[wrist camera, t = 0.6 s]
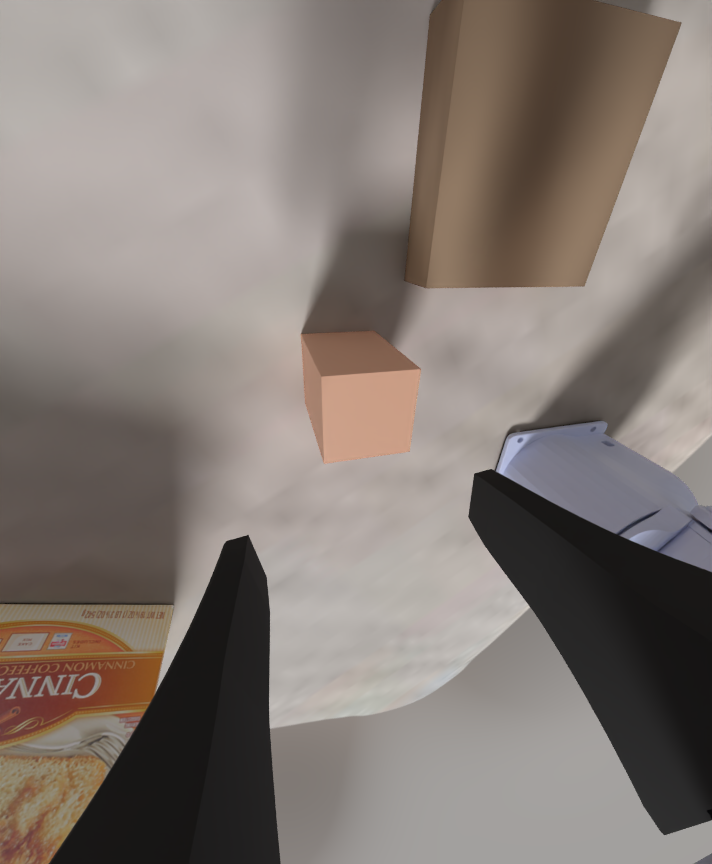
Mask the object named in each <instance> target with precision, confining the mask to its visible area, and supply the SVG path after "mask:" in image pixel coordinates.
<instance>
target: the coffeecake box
mask: <svg viewBox="0 0 712 864" xmlns="http://www.w3.org/2000/svg"><path fill="white" fill-rule="evenodd" d="M173 608H174V605H50V604H0V864H49V862H50V861H51V859H52V858H53V856H54V855H55V853H56V852H57V850H58V849H59V848H60V846H61V845H62V843H63V842H64V840H65V839H66V837H67V836H68V834H69V833H70V831H71V830H72V828H73V827H74V825H75V824H76V822H77V821H78V819H79V818H80V816H81V815H82V813H83V812H84V810H85V809H86V807H87V806H88V804H89V803H90V801H91V800H92V798H93V796H94V795H95V793H96V792H97V790H98V789H99V787H100V785H101V784H102V782H103V781H104V779H105V778H106V776H107V774H108V773H109V771H110V769H111V768H112V766H113V765H114V763H115V761H116V760H117V758H118V756H119V755H120V753H121V751H122V750H123V748H124V746H125V745H126V743H127V742H128V740H129V738H130V737H131V735H132V733H133V732H134V730H135V728H136V727H137V725H138V723H139V721H140V720H141V718H142V716H143V714H144V713H145V711H146V709H147V707H148V706H149V704H150V702H151V700H152V699H153V697H154V695H155V693H156V689H157V685H158V680H159V676H160V671H161V666H162V661H163V657H164V652H165V647H166V642H167V638H168V633H169V628H170V623H171V618H172V613H173Z"/></svg>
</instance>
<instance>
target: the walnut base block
mask: <svg viewBox="0 0 712 864" xmlns="http://www.w3.org/2000/svg"><path fill="white" fill-rule="evenodd" d="M680 26H681V22H677V21H673V20H669V19H665V18H661V17H657V16H653V15H649V14H645V13H641V12H637V11H634V10H630V9H626V8H622V7H618V6H614V5H610V4H606V3H602V2H598V1H594V0H442V1H441V2H440V3H439V4H438V6H437V7H436V8H435V9H434V11H433V12H432V13H431V14H430V19H429V30H428V40H427V51H426V61H425V72H424V82H423V92H422V103H421V113H420V124H419V134H418V144H417V155H416V165H415V176H414V186H413V197H412V207H411V217H410V228H409V238H408V249H407V259H406V270H405V280H404V281H407V282H410V283H413V284H416V285H418V286H421V287H424V288H481V287H570V286H585V283H586V280H587V278H588V275H589V272H590V270H591V267H592V264H593V262H594V259H595V256H596V253H597V251H598V248H599V245H600V243H601V240H602V237H603V234H604V232H605V229H606V226H607V224H608V221H609V218H610V216H611V213H612V210H613V207H614V205H615V202H616V199H617V197H618V194H619V191H620V188H621V186H622V183H623V180H624V178H625V175H626V172H627V170H628V167H629V164H630V161H631V159H632V156H633V153H634V151H635V148H636V145H637V142H638V140H639V137H640V134H641V132H642V129H643V126H644V124H645V121H646V118H647V115H648V113H649V110H650V107H651V105H652V102H653V99H654V96H655V94H656V91H657V88H658V86H659V83H660V80H661V78H662V75H663V72H664V69H665V67H666V64H667V61H668V59H669V56H670V53H671V50H672V48H673V45H674V42H675V40H676V37H677V34H678V32H679V29H680Z"/></svg>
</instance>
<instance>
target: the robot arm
mask: <svg viewBox="0 0 712 864" xmlns="http://www.w3.org/2000/svg"><path fill="white" fill-rule="evenodd" d="M607 426H608V424H607V423H606V422H604V421H596V422H589V423H582V424H575V425H567V426H560V427H553V428H546V429H538V430H531V431H524V432H516V433H512V434H510V435H509V436H508V437H507V439H506V442H505V445H504V448H503V451H502V454H501V457H500V460H499V463H498V466H497V469H496V471H494V470H492V469H490V470H486V471H482V472H479V473H475V474H474V480H473V487H472V495H471V502H470V509H469V516H468V517H469V519H470V521H471V523H472V524H473V526H474V528H475V530H476V532H477V533H478V535H479V537H480V539H481V540H482V542H483V544H484V545H485V547H486V548H487V549H488V551H489V552H490V554H491V555H492V556H493V558H494V559H495V560H496V562H497V563H498V564H499V566H500V567H501V568H502V570H503V571H504V572H505V574H506V575H507V576H508V578H509V579H510V580H511V582H512V583H513V584H514V586H515V587H516V588H517V590H518V591H519V592H520V594H521V595H522V596H523V598H524V599H525V600H526V602H527V603H528V605H529V606H530V607H531V609H532V610H533V611H534V613H535V614H536V616H537V617H538V619H539V620H540V622H541V623H542V625H543V626H544V628H545V629H546V631H547V633H548V634H549V636H550V637H551V639H552V641H553V642H554V644H555V646H556V647H557V649H558V650H559V652H560V654H561V655H562V657H563V658H564V660H565V662H566V664H567V665H568V667H569V668H570V670H571V672H572V674H573V675H574V677H575V679H576V681H577V682H578V684H579V685H580V687H581V689H582V691H583V692H584V694H585V696H586V698H587V699H588V701H589V703H590V705H591V707H592V709H593V710H594V712H595V714H596V716H597V717H598V719H599V721H600V723H601V725H602V727H603V728H604V730H605V732H606V734H607V736H608V738H609V740H610V741H611V743H612V745H613V747H614V749H615V751H616V753H617V755H618V757H619V759H620V761H621V762H622V764H623V766H624V768H625V770H626V772H627V774H628V776H629V778H630V780H631V781H632V784H633V786H634V788H635V790H636V792H637V794H638V796H639V798H640V800H641V802H642V804H643V806H644V807H645V809H646V810H647V812H648V813H649V815H650V816H651V818H652V819H653V821H654V822H655V824H656V825H657V827H658V828H659V830H660V831H661V832H662V833H663V834H664V835H667V834H670V833H673V832H676V831H679V830H682V829H686V828H689V827H692V826H695V825H698V824H701V823H704V822H707V821H710V820H712V506H706V507H705V506H702V505H698V503H697V500H696V499H695V496H694V495H693V493H692V492H691V490H690V489H689V487H688V486H687V485H686V484H685V483H684V482H683V481H682V480H681V479H680V478H679V477H677V476H676V475H674V474H673V473H671V472H670V471H668V470H666V469H664V468H663V467H661V466H659V465H658V464H656V463H654V462H652V461H651V460H649V459H647V458H645V457H644V456H642V455H640V454H638V453H637V452H635V451H633V450H632V449H630V448H628V447H626V446H625V445H623V444H621V443H619V442H618V441H616V440H614V439H613V438H611V437H609V436H607V435H606V434H604V432H605V431H606V429H607ZM269 655H270V608H269V597H268V587H267V577H266V575H265V572H264V570H263V568H262V565H261V563H260V561H259V558H258V556H257V554H256V552H255V549H254V547H253V545H252V542H251V540H250V538H249V535H247V536H243V537H240V538H236V539H232V540H229V541H226V543H225V544H224V546H223V548H222V551H221V554H220V557H219V559H218V562H217V564H216V567H215V569H214V572H213V574H212V577H211V579H210V582H209V584H208V587H207V589H206V591H205V594H204V596H203V598H202V600H201V603H200V605H199V607H198V609H197V612H196V614H195V616H194V618H193V620H192V623H191V625H190V627H189V629H188V631H187V633H186V635H185V637H184V639H183V641H182V643H181V645H180V647H179V649H178V651H177V653H176V655H175V657H174V659H173V661H172V663H171V665H170V667H169V669H168V671H167V673H166V675H165V677H164V678H163V680H162V682H161V684H160V686H159V688H158V690H157V691H156V693H155V695H154V697H153V699H152V700H151V702H150V704H149V706H148V707H147V709H146V711H145V713H144V714H143V716H142V718H141V720H140V721H139V723H138V725H137V727H136V728H135V730H134V732H133V733H132V735H131V737H130V738H129V740H128V742H127V743H126V745H125V746H124V748H123V750H122V751H121V753H120V755H119V756H118V758H117V760H116V761H115V763H114V765H113V766H112V768H111V769H110V771H109V773H108V774H107V776H106V778H105V779H104V781H103V782H102V784H101V785H100V787H99V789H98V790H97V792H96V793H95V795H94V796H93V798H92V800H91V801H90V803H89V804H88V806H87V807H86V809H85V810H84V812H83V813H82V815H81V816H80V818H79V819H78V821H77V822H76V824H75V825H74V827H73V828H72V830H71V831H70V833H69V834H68V836H67V837H66V839H65V840H64V842H63V843H62V845H61V846H60V848H59V849H58V850H57V852H56V853H55V855H54V856H53V858H52V859H51V861H50V862H49V864H280V853H279V843H278V831H277V821H276V809H275V795H274V783H273V771H272V757H271V741H270V726H269ZM694 864H712V854H710V855H708V856H706V857H705V858H703V859H701V860H700V861H698V862H696V863H694Z"/></svg>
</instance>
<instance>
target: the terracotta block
mask: <svg viewBox="0 0 712 864" xmlns="http://www.w3.org/2000/svg"><path fill="white" fill-rule="evenodd" d="M301 343H302V359H303V375H304V391H305V404H306V407H307V410H308V414H309V417H310V420H311V423H312V427H313V430H314V433H315V436H316V440H317V443H318V446H319V449H320V452H321V456H322V459H323V462H324V464H326V463H333V462H340V461H347V460H354V459H361V458H368V457H375V456H382V455H389V454H396V453H403V452H410V444H411V437H412V430H413V423H414V416H415V409H416V402H417V394H418V387H419V380H420V373H421V369H420V368H419V367H418V366H417V365H415V364H414V363H413V362H412V361H411V360H409V359H408V358H407V357H406V356H404V355H403V354H402V353H401V352H400V351H398V350H397V349H396V348H395V347H393V346H392V345H391V344H390V343H389V342H387V341H386V340H385V339H384V338H382V337H381V336H380V335H379V334H377V333H376V332H375V331H357V332H334V333H311V334H301Z"/></svg>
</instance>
